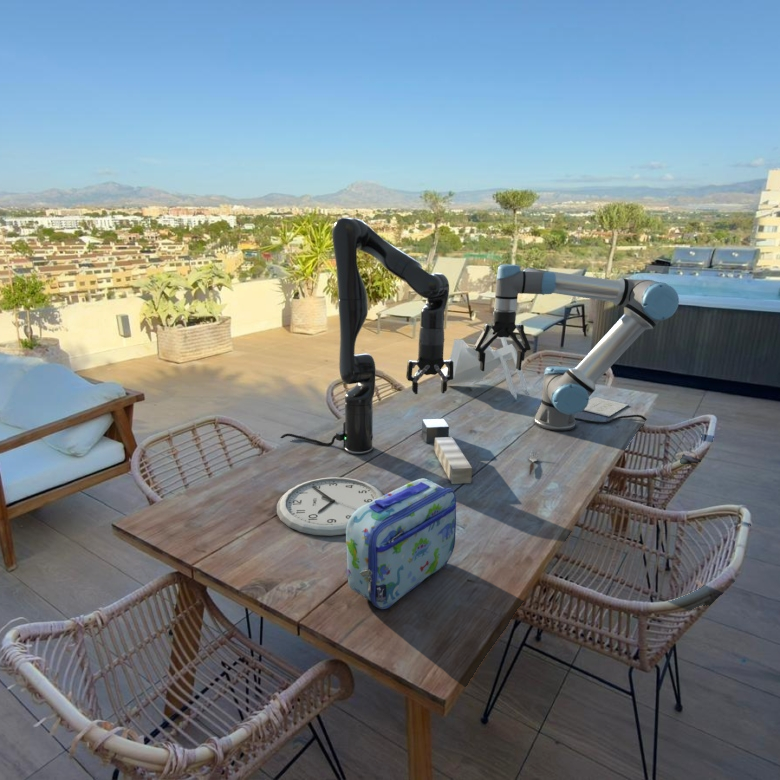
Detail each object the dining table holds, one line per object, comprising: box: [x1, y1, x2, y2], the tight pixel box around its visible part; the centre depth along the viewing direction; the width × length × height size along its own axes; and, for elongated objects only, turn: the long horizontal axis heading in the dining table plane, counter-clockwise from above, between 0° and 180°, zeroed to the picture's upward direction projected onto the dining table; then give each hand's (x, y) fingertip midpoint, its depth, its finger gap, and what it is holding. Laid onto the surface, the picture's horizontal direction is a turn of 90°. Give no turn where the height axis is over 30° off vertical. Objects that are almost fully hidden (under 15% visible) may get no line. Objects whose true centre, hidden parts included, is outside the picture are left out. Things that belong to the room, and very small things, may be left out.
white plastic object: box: [440, 311, 531, 400], centre depth 245 cm, size 37×45×31 cm
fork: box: [529, 450, 539, 475], centre depth 168 cm, size 3×16×2 cm, turn 160°
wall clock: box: [276, 476, 385, 537], centre depth 142 cm, size 30×2×30 cm
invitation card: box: [583, 396, 629, 418], centre depth 226 cm, size 21×1×15 cm
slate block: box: [421, 418, 450, 444], centre depth 188 cm, size 8×8×6 cm
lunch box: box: [345, 477, 457, 610], centre depth 110 cm, size 26×11×21 cm, turn 134°
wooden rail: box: [434, 436, 473, 485], centre depth 167 cm, size 24×6×5 cm, turn 8°
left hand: (429, 393), depth 161 cm, fingers open, 8 cm apart
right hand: (500, 369), depth 187 cm, fingers open, 13 cm apart
